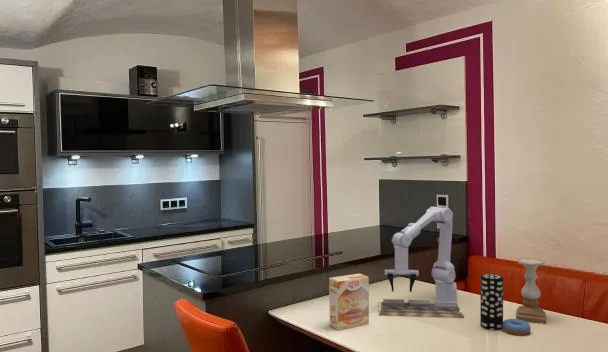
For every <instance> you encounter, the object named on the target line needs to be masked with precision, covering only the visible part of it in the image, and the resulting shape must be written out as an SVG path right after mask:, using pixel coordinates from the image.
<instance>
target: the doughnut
mask: <svg viewBox="0 0 608 352" xmlns="http://www.w3.org/2000/svg"><path fill="white" fill-rule="evenodd" d="M502 328H503V329H502V330H503V331H504V332H505V333H506V334H511V335H514V336H525V335H528V334H529V333H530V332H531V325H530V323H529V322H526V321H523V320H519V319H516V318H508V319H507V318H506V319H504V320H503V323H502Z"/></svg>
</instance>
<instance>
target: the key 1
mask: <svg viewBox="0 0 608 352" xmlns="http://www.w3.org/2000/svg"><path fill="white" fill-rule="evenodd" d="M382 299H383V300H382V302H383V306H405V303H404V302H405V299H396V298H395V299H394V298H393V299H392V298H390V299H389V298H382Z"/></svg>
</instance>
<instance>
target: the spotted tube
mask: <svg viewBox="0 0 608 352" xmlns="http://www.w3.org/2000/svg"><path fill="white" fill-rule="evenodd" d="M479 305H480V308H479V309H480V314H479V315H480V317H479V318H480V322H479V323H480V327H481V328H483V329H485V330H488V331H502V330H503V328H502V323H503V322H504V276H502V275H500V274H495V273H483V274H481V275H480V304H479Z"/></svg>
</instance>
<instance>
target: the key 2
mask: <svg viewBox="0 0 608 352" xmlns="http://www.w3.org/2000/svg"><path fill="white" fill-rule="evenodd" d="M433 303H434V307H435V308H457V306H456V304H457V303H436V302H433Z"/></svg>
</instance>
